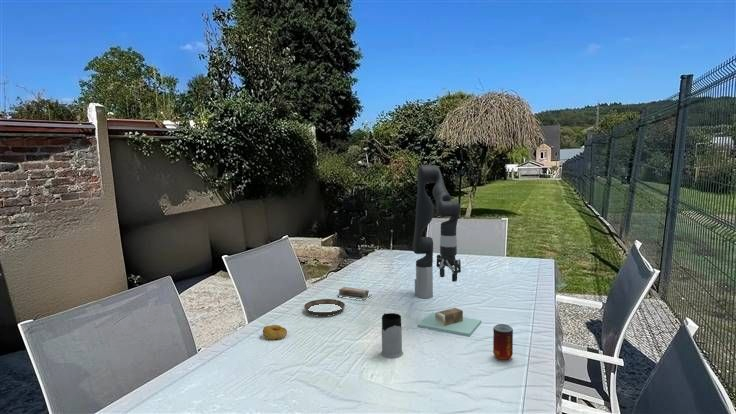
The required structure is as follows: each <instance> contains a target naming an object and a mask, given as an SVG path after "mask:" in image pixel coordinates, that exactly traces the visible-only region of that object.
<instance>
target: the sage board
mask: <svg viewBox="0 0 736 414" xmlns="http://www.w3.org/2000/svg"><path fill="white" fill-rule="evenodd" d="M481 324H482V319H476V318H471V317H470V318H469V317H464V316H463V321H462V322H458V323H454V324H450V325H447V326H443V327H442V326H440V325H438V324H436V323H435V312H433V311H432V312H431V313H430V314H429V315H427V316H426V317H425V318H423V320H421V321H420V322H419V323H418V324H417V328H420V327H422V328H421V329H426V328H427V329H428V330H431V329H433V331H437V332H443V333H448V334H453V335H460V336H466V337H471V336H472V334H473V333H474V332H475V331H476V330H477V329H478V328H479V326H480V325H481Z"/></svg>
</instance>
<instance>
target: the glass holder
mask: <svg viewBox="0 0 736 414" xmlns="http://www.w3.org/2000/svg"><path fill="white" fill-rule="evenodd" d="M402 331H403V327H402V316H401V314H399V313H396V312H395V313H394V312H392V313H391V312H389V313H386V312H384V313H383V314H382V316H381V352H380V355H381V356H382V357H384V358H386V359H398V358H400V357H402V356H403V355H404V352H403V334H402Z"/></svg>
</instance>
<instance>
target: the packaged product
mask: <svg viewBox="0 0 736 414" xmlns="http://www.w3.org/2000/svg"><path fill="white" fill-rule="evenodd" d="M369 293H370V292H369V290H367V289H361V288H354V287H346V286H343V287H341V288H339V291H338V294H337V296H342V297H349V298H356V299H362V300H366V299H367V298H369V297H371V296H372V295H373V294H369ZM368 294H369V296H368ZM371 298H372V297H371ZM369 299H370V298H369ZM366 301H367V300H366Z"/></svg>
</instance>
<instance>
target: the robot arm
mask: <svg viewBox="0 0 736 414" xmlns="http://www.w3.org/2000/svg"><path fill="white" fill-rule="evenodd" d="M416 173H417V175H416V176H417V177H416V179H417V182H416V183H417V186H416V187H417V189H416V190H417V191H416V193H417V195H416V204H415V205H416V206H415V221H414V222H415V224H414V232H413V233H414V235H413V242H412V250H413V253H414V254H416V255H424V256H423V257H421V258H419V259H417V260H416V261H415V279H414V297H417V298H420V299H429V298H430V299H431V298H433V296H434V291H433V290H434V289H433V288H434V277H433V274H434V273H433V271H434V270H433V269H434V265H433V263H434V262H433V261H434V259H433V258H434V257H433V256H434V239H433V238H432V237H430V236H422V234H423V232H424V230H425V229H426V228H427V227H428V226H429V225H430V223H431V222H432V220H433V217H434V209H435V208H434V207H435V206H434V203H433V201H432V199H431V197H430V196H429V195H428V193H427V191H426V189H425V186H426V184H434V186H433V188H432V197H433V199H434V201H435V202H436V212H437V215H438V216H439V217H441V218H443V217H444V218H447V217H448V218H449V219H448V220H446V221H443V222H441V223H440V236H439V237H440V238H439V254H436V265H435V266H436V267H437V268H438V270H439V277H440V278H445V275H446V273H445V270H446V269H445V268H446V267H447V268H449V269H448V270H450V271H451V281H452V282H453V283H454V282H457V281H458V274H461V272H462V266H461V265H462V264H461V259H456V256H457V254H458V253H457V251H458V250H457V249H458V247H457V246H458V240H457V239H458V238H457V224H458V220H459V216H460V213H461V208H462V207H461V205H460V203H459V202H458V201H457V200H452V198H451V195H450V194H449V191H448V190H447V188H446V185H445V182H444V178H443V175H442V173H441V169H440V167H439V166H438V165H435V164H428V165H426V164H425V165H424V164H423V165H419V166H418V167H417V172H416Z"/></svg>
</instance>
